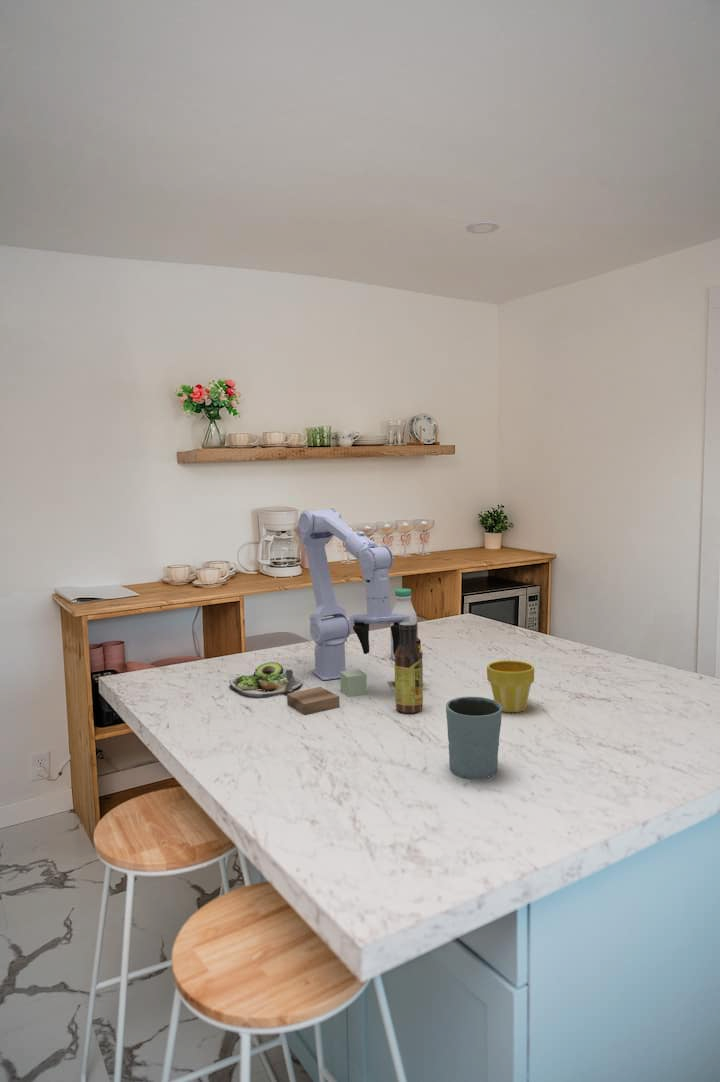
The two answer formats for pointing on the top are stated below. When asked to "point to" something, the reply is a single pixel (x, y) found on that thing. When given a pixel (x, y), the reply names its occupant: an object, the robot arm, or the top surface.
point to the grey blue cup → (473, 736)
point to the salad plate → (267, 681)
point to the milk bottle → (403, 610)
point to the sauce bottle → (408, 671)
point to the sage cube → (353, 682)
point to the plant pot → (510, 683)
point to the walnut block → (313, 700)
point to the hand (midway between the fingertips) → (381, 653)
